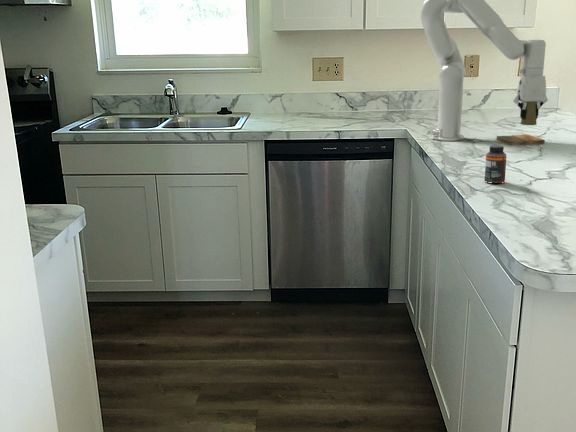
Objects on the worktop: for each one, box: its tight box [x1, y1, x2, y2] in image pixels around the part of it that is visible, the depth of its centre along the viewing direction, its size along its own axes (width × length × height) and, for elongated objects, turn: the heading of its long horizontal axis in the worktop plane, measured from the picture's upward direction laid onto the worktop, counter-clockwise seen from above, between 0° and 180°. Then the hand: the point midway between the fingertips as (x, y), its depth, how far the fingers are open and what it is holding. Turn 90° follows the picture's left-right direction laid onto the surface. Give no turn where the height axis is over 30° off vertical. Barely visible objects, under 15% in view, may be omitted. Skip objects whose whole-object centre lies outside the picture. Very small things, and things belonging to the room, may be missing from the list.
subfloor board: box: [496, 133, 546, 146], centre depth 253 cm, size 14×13×2 cm
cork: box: [520, 101, 538, 126], centre depth 250 cm, size 6×6×11 cm
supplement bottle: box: [484, 144, 507, 184], centre depth 190 cm, size 6×6×11 cm
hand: (528, 118), depth 251 cm, fingers closed on cork, 4 cm apart
